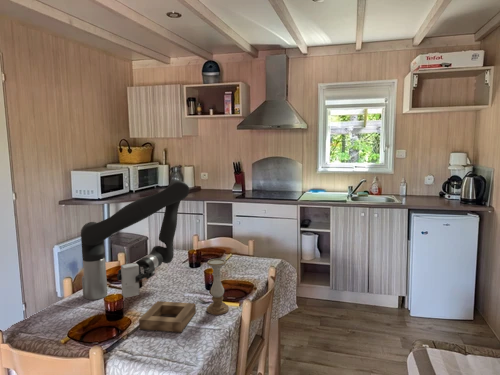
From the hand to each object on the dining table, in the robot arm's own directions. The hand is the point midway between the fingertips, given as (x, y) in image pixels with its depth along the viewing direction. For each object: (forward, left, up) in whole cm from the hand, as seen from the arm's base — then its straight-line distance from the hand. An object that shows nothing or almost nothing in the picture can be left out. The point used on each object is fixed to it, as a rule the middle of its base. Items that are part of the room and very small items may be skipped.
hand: (127, 278), depth 144 cm
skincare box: (0, +2, -7) cm, 8 cm away
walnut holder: (+17, -2, -15) cm, 23 cm away
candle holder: (+33, +10, -15) cm, 38 cm away
